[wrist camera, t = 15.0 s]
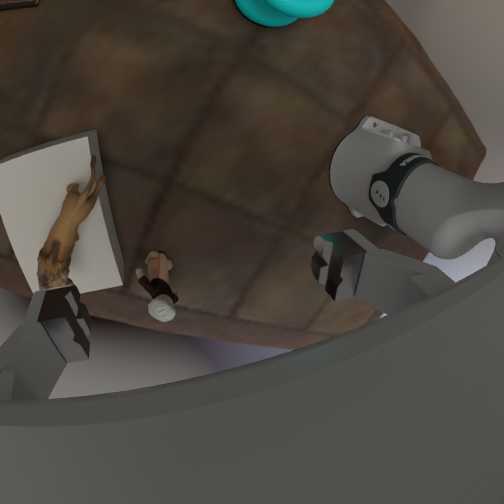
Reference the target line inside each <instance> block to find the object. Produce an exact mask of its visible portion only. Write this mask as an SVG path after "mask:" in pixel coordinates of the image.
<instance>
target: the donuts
mask: <svg viewBox="0 0 504 504" xmlns="http://www.w3.org/2000/svg"><path fill="white" fill-rule="evenodd" d="M235 2H236V4H237V6H238V8H239V9H240V11H241V12H242V13H243V14H244V15H245V16H246V17H248V18H249V19H250V20H252V21H254V22H256V23H258V24H261V25H265V26H271V27H279V26H284V25H288V24H290V23H292V22H294V21H296V20H297V19H298V18H309V17H314V16H317V15H320V14H322V13H323V12H325V11H326V10H327V9H328V8H329V7H330V6H331V5H332V3H333V2H334V0H235Z"/></svg>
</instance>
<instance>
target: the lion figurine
mask: <svg viewBox="0 0 504 504" xmlns="http://www.w3.org/2000/svg"><path fill="white" fill-rule="evenodd" d="M95 164H96V156H95V155H92V157H91V162H90V167H91V177H90V180H89V183H88V185H87V186H86V188H85V189H84V191H83V192H82V193H81V194H80V193H79V191H78V187H79V184H78V183H75V184H74V183H71V184H69V185H68V186H67V188H66V191H67V192H68V193H67V194H66V197H65V199H64V201H63V204H62V209H61V212H60V216H59V217H58V218H57V220H56V221H55V223H54V225H53V226H52V228H51V230H50V232H49V235H48V238H47V240H46V241H45V243H44V246H43V247H42V248H41V249H40V251H39V255H38V258H37V261H38V268H37V270H38V272H37V277H38V281H39V282H38V284H39V290H43V289H49V288H54V287H60V286H66V285H71V284H74V283H73V281H72V280H71V279H70V278H68V276H69V272H70V270H69V266H70V263H71V255H72V253H73V250H74V247H75V242H76V241H78V240H79V235H78V233H77V231H78V227H79V224H80V223H82V222H83V221H84V220H85V219H86V218H87V217H88V215H89V213H90V212H91V210H92V209H93V208H94V206H95V203H96V201H97V198H98V195H99V193H100V191H101V189H102V187H103V185H104V184H105V183H106V176H104V175H99V176H98V178H97V181H96V186H95V189H94V191H93V192H92V193H91V194H90V195H89V193H90V191H91V189H92V186H93V184H94V181H95V177H96V170H95ZM74 285H75V284H74Z"/></svg>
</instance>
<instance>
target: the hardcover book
mask: <svg viewBox="0 0 504 504" xmlns="http://www.w3.org/2000/svg"><path fill="white" fill-rule="evenodd" d="M38 1H39V0H0V11H2V10H8V9H16V8H25V7H36V6H38V5H37V3H38Z"/></svg>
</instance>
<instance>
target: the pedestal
mask: <svg viewBox="0 0 504 504" xmlns="http://www.w3.org/2000/svg"><path fill="white" fill-rule="evenodd" d="M92 155H95V156H96V164H95V170H96V177H95V181H94V184H93V186H92V189H91V191H90V193H89V195H90V194H91V193H92V192H93V191H94V189H95V186H96V181H97V178H98V176H99V175H103V169H102V163H101V157H100V151H99V145H98V138H97V130H96V129H95V130H91V131H87V132H83V133H79V134H75V135H71V136H68V137H64V138H60V139H57V140H54V141H50V142H47V143H44V144H41V145H38V146H35V147H32V148H29V149H26V150H23V151H20V152H17V153H15V154H12V155H9V156H7V157H5V158H4V159H2V160H0V214H1V217H2V220H3V223H4V226H5V228H6V231H7V234H8V237H9V239H10V242H11V244H12V247H13V250H14V252H15V254H16V257H17V259H18V262H19V264H20V266H21V268H22V271H23V273H24V275H25V277H26V279H27V281H28V284H29V286H30V288H31V290H32V292H33V294H34V292H36V291H39V284H38V282H39V281H38V277H37V272H38V270H37V268H38V261H37V258H38V255H39V251H40V249H41V248H42V247H43V246H44V243H45V241H46V240H47V238H48V235H49V232H50V230H51V228H52V226H53V225H54V223H55V221H56V220H57V218H58V217H59V216H60V212H61V209H62V204H63V201H64V199H65V197H66V194H67V193H68V192H67V191H66V188H67V186H68V185H69V184H71V183H74V184H75V183H78V184H79V187H78V191H79V193H80V194H81V193H82V192H83V191H84V189H85V188H86V186H87V185H88V183H89V180H90V177H91V167H90V162H91V157H92ZM77 233H78V235H79V240H78V241H76V242H75V247H74V250H73V253H72V255H71V263H70V266H69V270H70V272H69V276H68V278H70V279H71V280H72V281H73V283H74V284H75V285H76V286H77V288H78V290H79V292H80V293H85V292H90V291H95V290H100V289H105V288H110V287H115V286H120V285H123V268H124V260H123V256H122V253H121V249H120V245H119V242H118V238H117V234H116V230H115V226H114V222H113V217H112V213H111V209H110V204H109V200H108V195H107V190H106V185H105V184H104V185H103V187H102V189H101V191H100V193H99V195H98V198H97V201H96V203H95V206H94V208H93V209H92V210H91V212H90V213H89V215H88V217H87V218H86V219H85V220H84V221H83V222H82V223H80V224H79V227H78V231H77Z"/></svg>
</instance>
